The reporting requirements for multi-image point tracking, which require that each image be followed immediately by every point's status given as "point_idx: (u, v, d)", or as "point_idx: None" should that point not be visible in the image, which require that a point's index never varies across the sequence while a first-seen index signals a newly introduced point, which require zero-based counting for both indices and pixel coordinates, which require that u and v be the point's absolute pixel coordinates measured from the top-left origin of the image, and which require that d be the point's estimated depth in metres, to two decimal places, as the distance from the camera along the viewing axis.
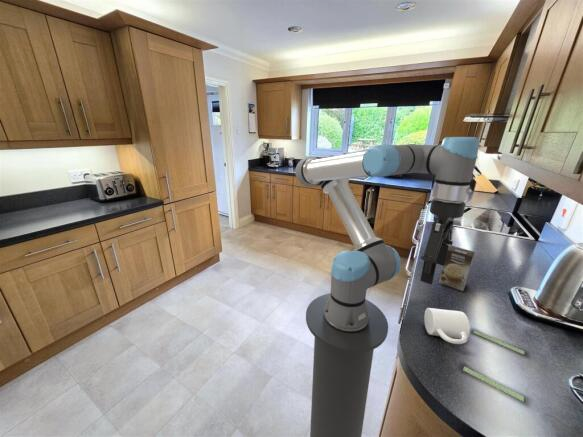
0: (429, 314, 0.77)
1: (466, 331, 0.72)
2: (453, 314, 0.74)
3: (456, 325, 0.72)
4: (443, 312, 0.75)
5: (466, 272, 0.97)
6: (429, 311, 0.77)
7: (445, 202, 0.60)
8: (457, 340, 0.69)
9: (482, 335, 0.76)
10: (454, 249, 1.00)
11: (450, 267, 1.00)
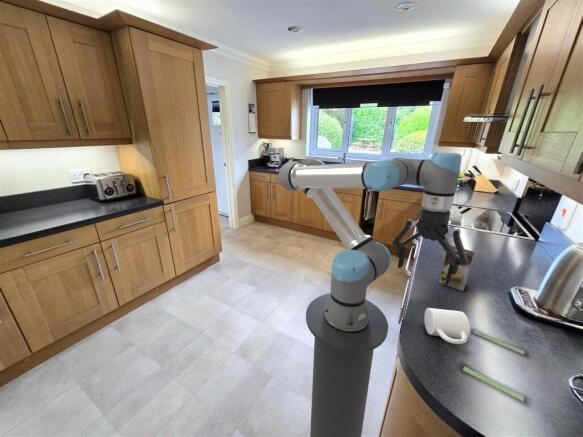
0: (429, 314, 0.77)
1: (466, 331, 0.72)
2: (453, 314, 0.74)
3: (456, 325, 0.72)
4: (443, 312, 0.75)
5: (466, 272, 0.97)
6: (429, 311, 0.77)
7: (423, 206, 0.71)
8: (457, 340, 0.69)
9: (482, 335, 0.76)
10: (454, 249, 1.00)
11: None
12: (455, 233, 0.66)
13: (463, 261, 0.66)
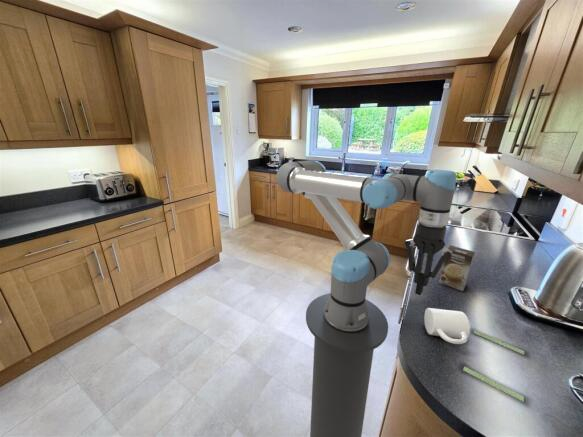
0: (429, 314, 0.77)
1: (466, 331, 0.72)
2: (453, 314, 0.74)
3: (456, 325, 0.72)
4: (443, 312, 0.75)
5: (466, 272, 0.97)
6: (429, 311, 0.77)
7: (419, 221, 0.73)
8: (457, 340, 0.69)
9: (482, 335, 0.76)
10: (454, 249, 1.00)
11: (450, 267, 1.00)
12: (447, 254, 0.69)
13: (433, 275, 0.73)
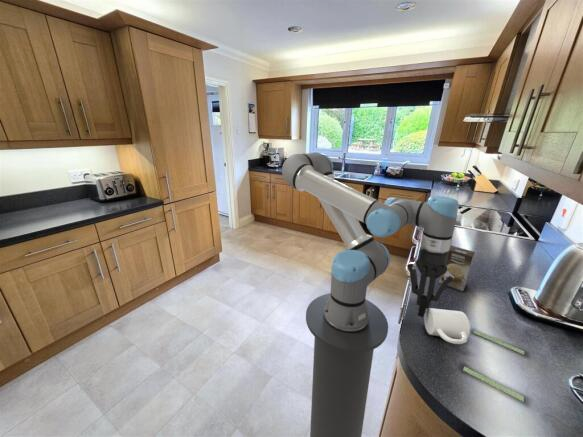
0: (429, 314, 0.77)
1: (466, 331, 0.72)
2: (453, 314, 0.74)
3: (456, 325, 0.72)
4: (443, 312, 0.75)
5: (466, 272, 0.97)
6: (429, 311, 0.77)
7: (422, 245, 0.74)
8: (457, 340, 0.69)
9: (482, 335, 0.76)
10: (454, 249, 1.00)
11: (450, 267, 1.00)
12: (449, 279, 0.70)
13: (436, 298, 0.74)
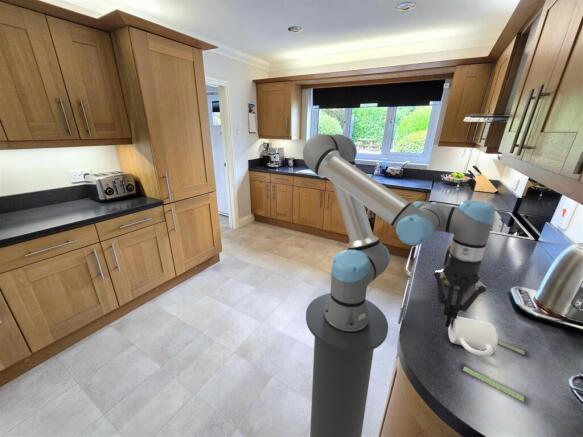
0: (453, 322, 0.74)
1: (493, 344, 0.67)
2: (480, 325, 0.70)
3: (481, 336, 0.68)
4: (468, 321, 0.71)
5: None
6: (453, 318, 0.74)
7: (451, 253, 0.70)
8: (480, 351, 0.65)
9: None
10: None
11: None
12: (482, 289, 0.66)
13: (464, 308, 0.70)
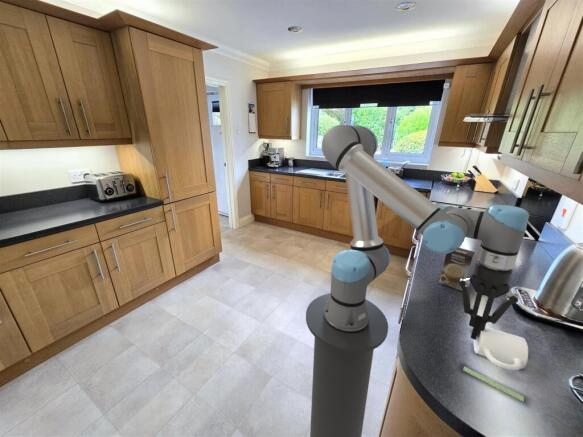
0: (478, 331, 0.70)
1: (522, 359, 0.63)
2: (509, 337, 0.66)
3: (509, 349, 0.64)
4: (496, 332, 0.67)
5: (466, 272, 0.97)
6: None
7: (478, 260, 0.65)
8: (505, 364, 0.62)
9: None
10: None
11: (450, 267, 1.00)
12: (513, 300, 0.61)
13: (494, 320, 0.65)
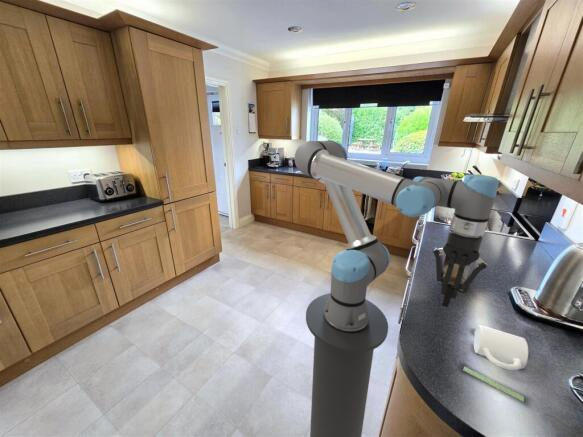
0: (478, 331, 0.70)
1: (522, 359, 0.63)
2: (509, 337, 0.66)
3: (509, 349, 0.64)
4: (496, 332, 0.67)
5: (466, 272, 0.97)
6: (479, 328, 0.70)
7: (452, 229, 0.68)
8: (505, 364, 0.62)
9: None
10: None
11: None
12: (482, 266, 0.64)
13: (464, 287, 0.68)
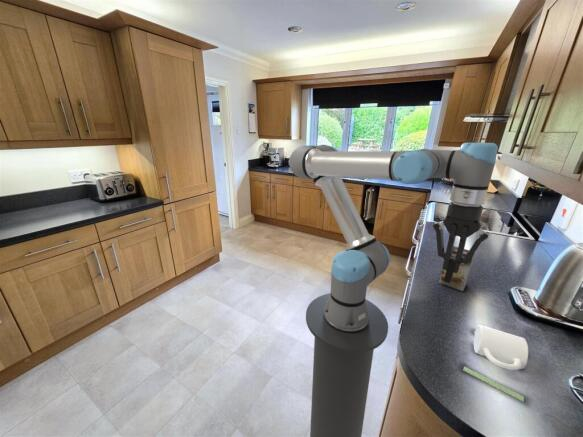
0: (478, 331, 0.70)
1: (522, 359, 0.63)
2: (509, 337, 0.66)
3: (509, 349, 0.64)
4: (496, 332, 0.67)
5: (466, 272, 0.97)
6: (479, 328, 0.70)
7: None
8: (505, 364, 0.62)
9: None
10: (454, 249, 1.00)
11: None
12: (484, 236, 0.62)
13: (466, 260, 0.66)
